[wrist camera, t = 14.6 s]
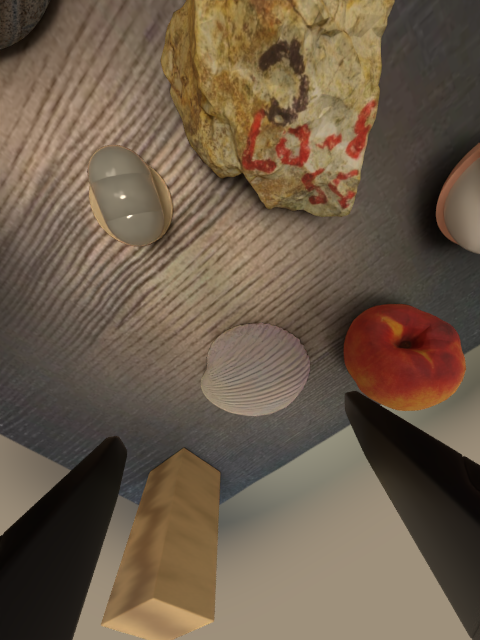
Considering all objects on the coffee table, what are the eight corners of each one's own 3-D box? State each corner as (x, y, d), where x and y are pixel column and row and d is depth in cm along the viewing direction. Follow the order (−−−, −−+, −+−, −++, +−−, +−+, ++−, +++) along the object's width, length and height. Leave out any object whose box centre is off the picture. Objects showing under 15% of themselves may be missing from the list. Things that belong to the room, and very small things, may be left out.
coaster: (112, 252, 18) (109, 253, 17) (77, 168, 16) (73, 167, 15) (182, 236, 18) (182, 236, 17) (157, 148, 15) (155, 146, 15)
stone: (167, 239, 18) (176, 238, 15) (118, 251, 17) (116, 253, 14) (140, 153, 16) (143, 130, 12) (81, 160, 14) (68, 137, 11)
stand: (186, 494, 30) (162, 644, 19) (149, 472, 28) (99, 626, 17) (220, 472, 28) (214, 621, 18) (183, 447, 26) (152, 598, 16)
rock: (291, 172, 20) (370, 219, 14) (196, 201, 19) (232, 266, 13) (295, -96, 11) (520, -311, 5) (120, -66, 11) (117, -282, 4)
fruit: (425, 290, 20) (538, 332, 13) (400, 369, 23) (478, 439, 16) (335, 292, 20) (397, 334, 12) (322, 371, 23) (365, 442, 16)
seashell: (176, 348, 18) (313, 341, 15) (200, 320, 23) (307, 311, 20) (205, 444, 22) (318, 449, 19) (220, 401, 27) (312, 402, 24)
